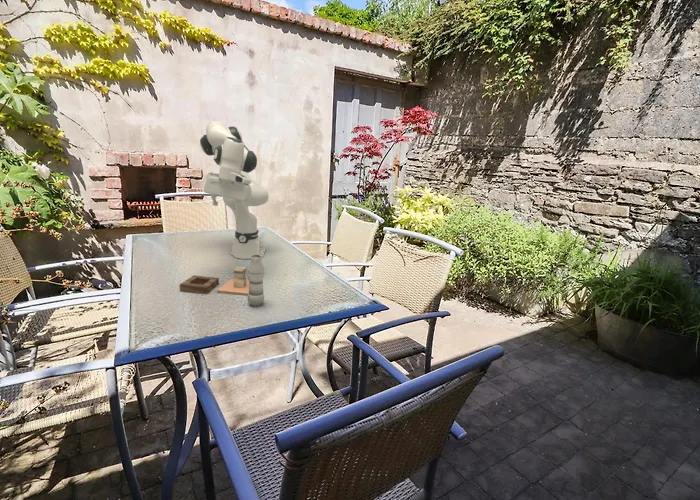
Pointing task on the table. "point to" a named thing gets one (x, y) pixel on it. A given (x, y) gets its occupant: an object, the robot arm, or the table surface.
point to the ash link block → (239, 277)
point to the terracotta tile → (234, 288)
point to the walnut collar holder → (199, 284)
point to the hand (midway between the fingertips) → (225, 207)
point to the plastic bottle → (255, 281)
